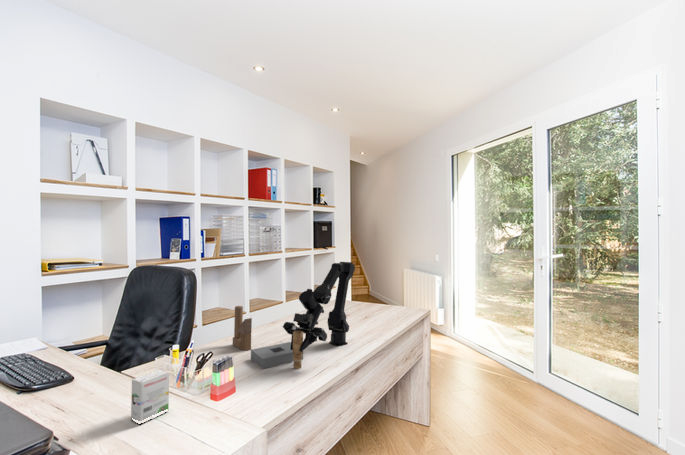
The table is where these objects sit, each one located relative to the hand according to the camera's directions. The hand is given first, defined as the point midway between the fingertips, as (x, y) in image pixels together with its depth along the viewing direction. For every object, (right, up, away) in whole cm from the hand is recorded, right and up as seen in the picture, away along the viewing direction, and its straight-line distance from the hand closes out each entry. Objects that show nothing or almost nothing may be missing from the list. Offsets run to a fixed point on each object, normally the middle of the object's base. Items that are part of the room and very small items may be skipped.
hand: (295, 350), depth 135 cm
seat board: (-9, -7, +9) cm, 14 cm away
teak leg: (+1, -7, +1) cm, 7 cm away
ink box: (-37, -7, -35) cm, 52 cm away
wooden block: (-28, -7, +23) cm, 36 cm away
